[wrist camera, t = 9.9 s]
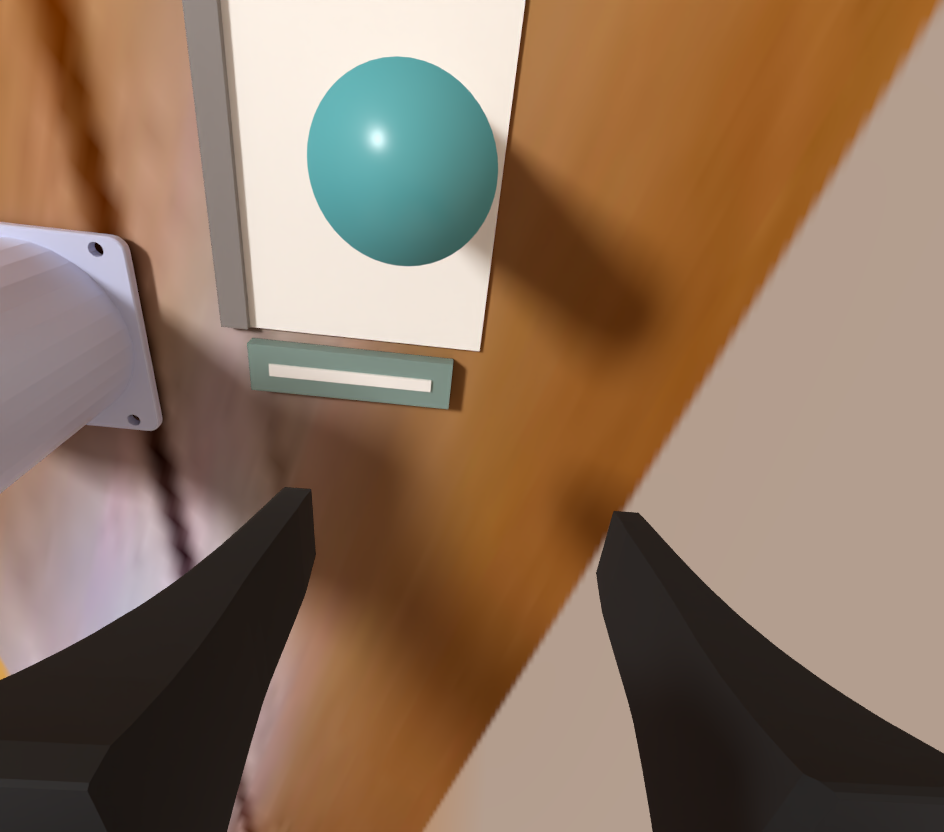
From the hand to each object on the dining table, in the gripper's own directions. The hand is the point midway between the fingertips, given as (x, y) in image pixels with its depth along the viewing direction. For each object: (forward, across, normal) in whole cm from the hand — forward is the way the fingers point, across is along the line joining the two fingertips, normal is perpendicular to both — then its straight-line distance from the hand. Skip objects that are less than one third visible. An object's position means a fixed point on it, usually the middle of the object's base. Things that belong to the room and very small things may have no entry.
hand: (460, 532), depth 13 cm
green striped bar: (+10, +4, +1) cm, 11 cm away
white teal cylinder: (+10, +2, -8) cm, 13 cm away
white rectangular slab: (+10, +4, -8) cm, 13 cm away
